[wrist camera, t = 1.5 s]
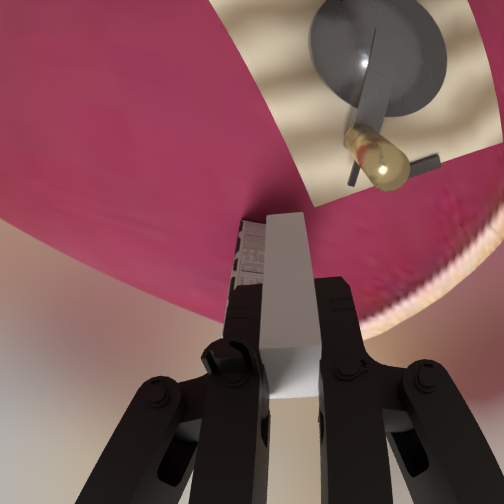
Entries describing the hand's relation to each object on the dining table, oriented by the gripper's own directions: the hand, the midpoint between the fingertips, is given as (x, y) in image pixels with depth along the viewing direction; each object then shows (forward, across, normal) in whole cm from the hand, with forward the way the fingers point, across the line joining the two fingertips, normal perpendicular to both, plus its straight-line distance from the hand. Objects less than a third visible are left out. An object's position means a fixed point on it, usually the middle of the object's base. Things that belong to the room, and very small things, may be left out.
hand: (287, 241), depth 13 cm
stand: (+18, +11, +8) cm, 22 cm away
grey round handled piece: (+16, +8, +5) cm, 19 cm away
